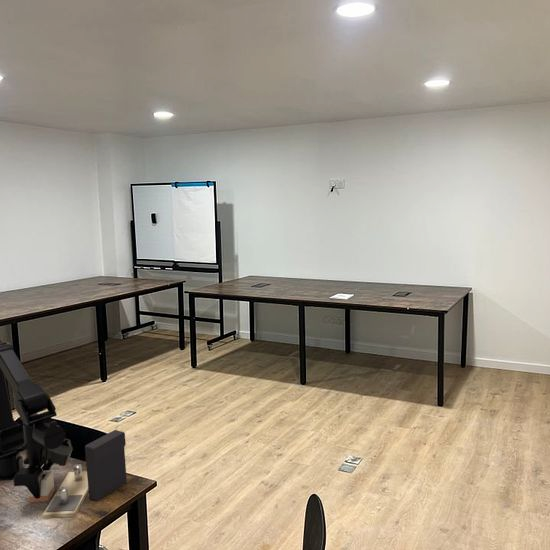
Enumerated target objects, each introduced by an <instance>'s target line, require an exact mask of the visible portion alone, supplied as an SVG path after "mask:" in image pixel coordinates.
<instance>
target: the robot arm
mask: <svg viewBox="0 0 550 550" xmlns="http://www.w3.org/2000/svg"><path fill="white" fill-rule="evenodd" d="M6 380H7V381H6ZM7 382H8V384H9V385H10V387H11V388H12V391H13V393H14V399H13V404H14V407H15V411H16V413H17V415H19V419H20V420H21V421H22V423H20V424H19V423H18V422H17V421H16V420H15V419H14V415H13V411H12V406H11V405H12V404H11V400H10V397H9V396H10V395H9V391H8V387H7ZM55 417H57V412H56V406H55V405H54V402H53V400H52V398H51V397H50V395H49V393H48V392H46V390H45V389H44V388H43V387H42V385H41V384H39V383H37V382H34V381H33V380H32V379H31V378H30V376H29V375H28V372H27V371H26V369H25V367H24V366H23V365H22V363H21V361H20V360H19V357H18V356H17V355H16V353H15V348H14V345H13V344H11V343H10V342H9V341H2V340H1V339H0V481H2V480H12V484H13V486H14V487H26V488H28V490H29V491H30V492H31V493H32V495H33V496H34V497H35V498H36V499H39V498H40V494H41V481H42V480H43V479H44V477H45V476H46V474H43V471H46V470H52V466H53V465H54V464H57V465H59V466H61V467H64V466H66V465H67V463H68V462H69V460H70V458H71V454H72V451H73V450H74V448H73V446H72V442H71V439H68V438H66V430H65V429H64V428H63V427H62V426H60V425H58V422H57V420H54V419H52V418H55ZM22 452H24V453H25V458H23V456H21V453H22ZM25 465H28V467H25ZM28 490H27V491H28Z"/></svg>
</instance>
